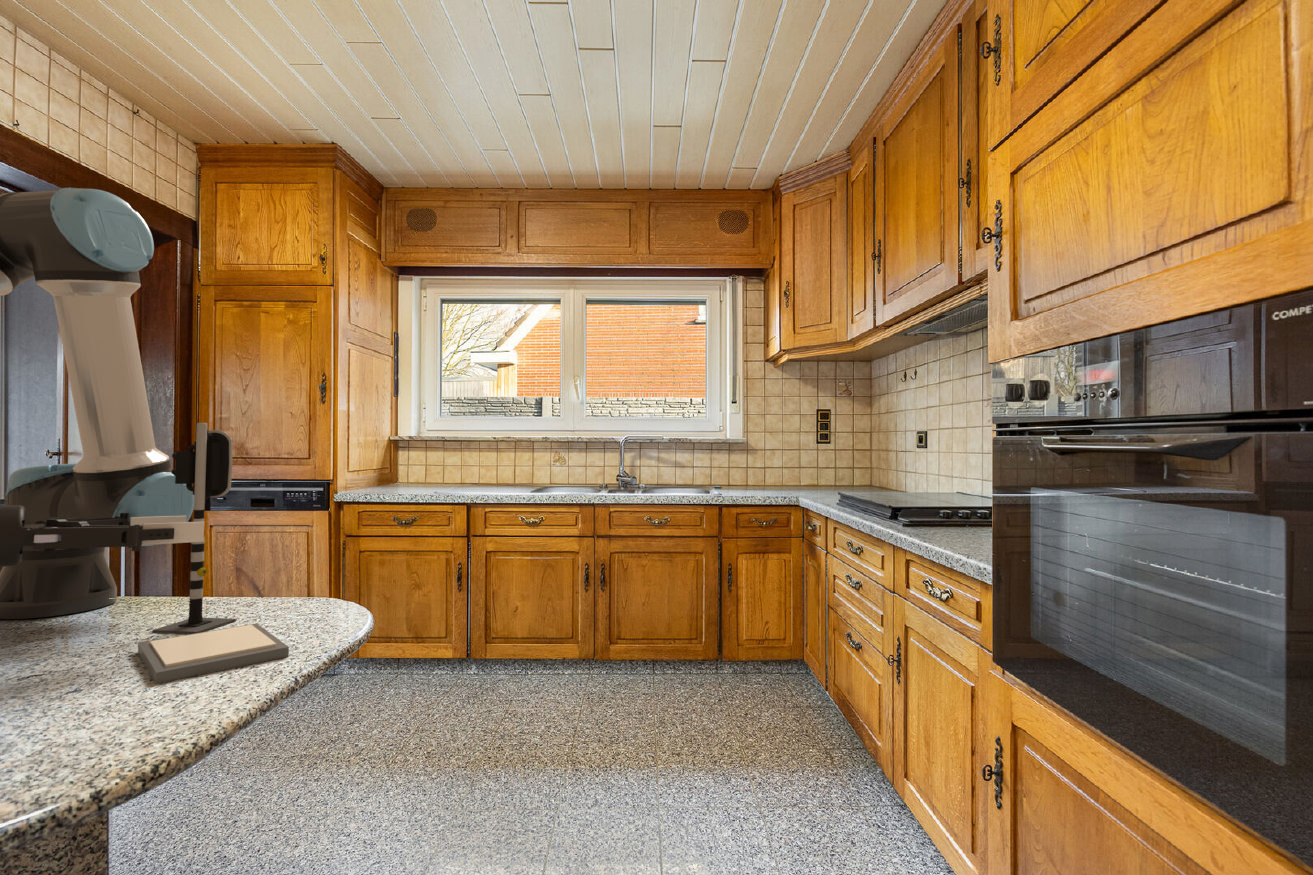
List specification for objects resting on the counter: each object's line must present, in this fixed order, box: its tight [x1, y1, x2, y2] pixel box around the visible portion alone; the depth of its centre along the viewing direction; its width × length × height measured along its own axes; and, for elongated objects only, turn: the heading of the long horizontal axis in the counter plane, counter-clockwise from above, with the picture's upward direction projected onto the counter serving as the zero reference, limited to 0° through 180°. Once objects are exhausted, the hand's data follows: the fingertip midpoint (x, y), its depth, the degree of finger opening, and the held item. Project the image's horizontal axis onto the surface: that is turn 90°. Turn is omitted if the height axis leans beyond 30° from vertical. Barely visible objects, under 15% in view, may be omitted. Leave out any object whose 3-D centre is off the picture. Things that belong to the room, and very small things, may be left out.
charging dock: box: [137, 622, 290, 685], centre depth 77 cm, size 15×13×2 cm
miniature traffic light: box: [152, 422, 237, 635], centre depth 90 cm, size 8×8×30 cm
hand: (194, 527), depth 89 cm, fingers open, 13 cm apart
